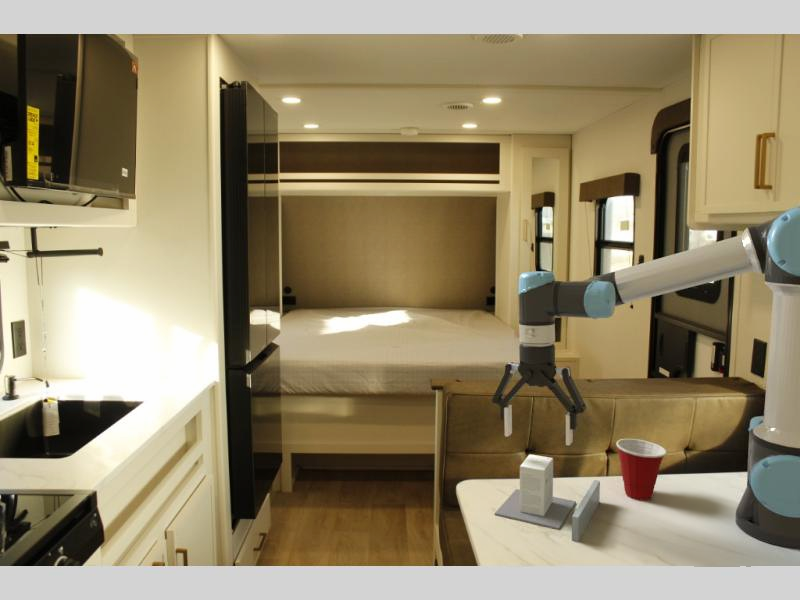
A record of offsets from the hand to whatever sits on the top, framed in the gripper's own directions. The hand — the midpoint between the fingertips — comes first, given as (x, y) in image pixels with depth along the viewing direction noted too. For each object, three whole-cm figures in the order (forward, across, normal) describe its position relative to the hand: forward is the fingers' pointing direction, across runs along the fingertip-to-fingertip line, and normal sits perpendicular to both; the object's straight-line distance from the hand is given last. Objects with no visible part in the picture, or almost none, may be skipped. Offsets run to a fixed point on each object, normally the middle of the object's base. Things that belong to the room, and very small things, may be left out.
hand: (538, 439), depth 130 cm
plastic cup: (+17, +18, +18) cm, 31 cm away
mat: (+16, -1, 0) cm, 16 cm away
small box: (+16, -1, 0) cm, 16 cm away
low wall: (+16, +10, 0) cm, 19 cm away
